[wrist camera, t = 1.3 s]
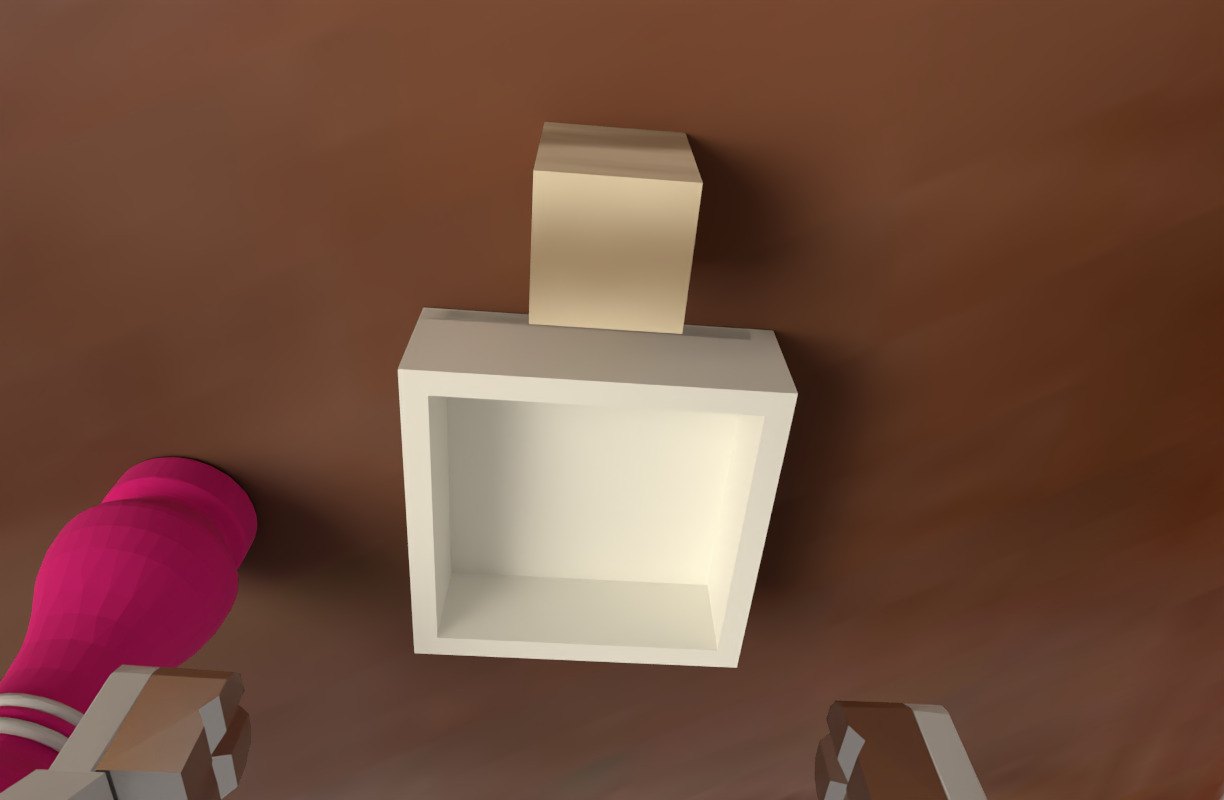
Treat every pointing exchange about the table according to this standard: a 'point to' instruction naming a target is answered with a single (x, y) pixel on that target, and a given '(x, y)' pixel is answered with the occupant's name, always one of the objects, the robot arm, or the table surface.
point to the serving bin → (588, 486)
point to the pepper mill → (122, 598)
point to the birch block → (612, 228)
